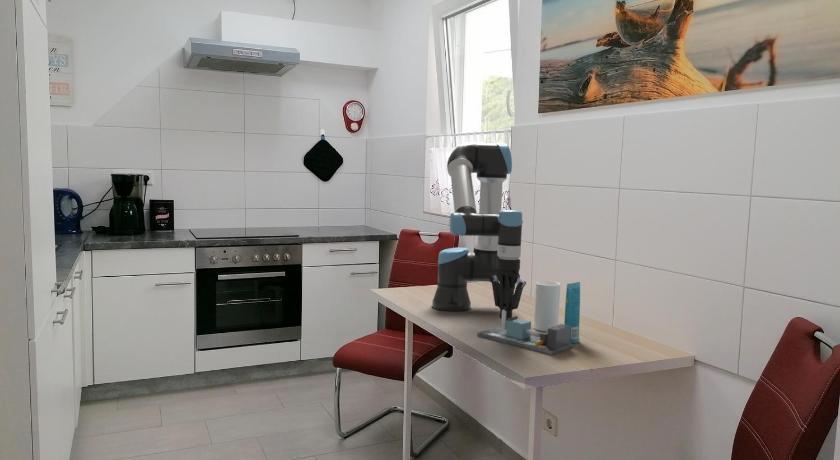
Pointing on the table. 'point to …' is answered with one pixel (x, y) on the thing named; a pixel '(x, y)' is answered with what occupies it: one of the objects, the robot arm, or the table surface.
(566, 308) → the tube
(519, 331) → the block
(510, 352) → the table surface
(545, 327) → the cup
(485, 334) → the rail base
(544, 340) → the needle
